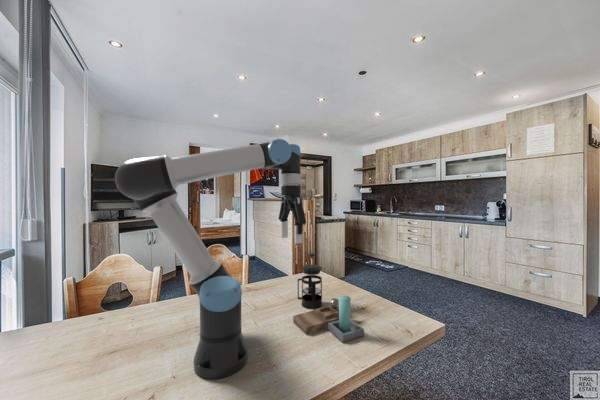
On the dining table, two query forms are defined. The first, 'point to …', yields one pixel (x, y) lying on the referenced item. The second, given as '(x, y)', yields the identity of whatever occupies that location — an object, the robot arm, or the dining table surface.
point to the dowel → (344, 314)
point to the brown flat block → (316, 319)
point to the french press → (311, 286)
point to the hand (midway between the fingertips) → (291, 240)
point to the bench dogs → (335, 304)
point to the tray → (348, 336)
